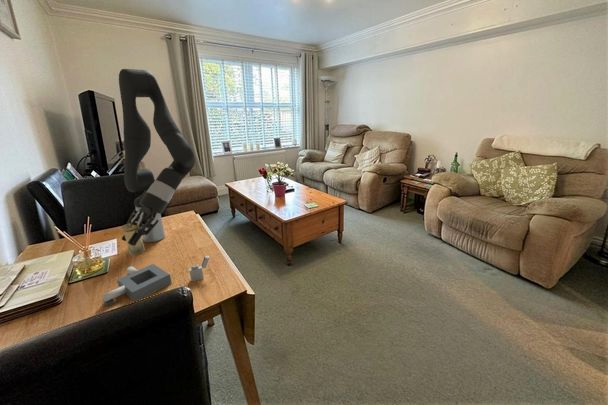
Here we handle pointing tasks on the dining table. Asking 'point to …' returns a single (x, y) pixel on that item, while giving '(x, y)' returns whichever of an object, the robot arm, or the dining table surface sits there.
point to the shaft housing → (135, 277)
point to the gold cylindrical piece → (128, 232)
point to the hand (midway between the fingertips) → (127, 242)
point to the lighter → (198, 270)
